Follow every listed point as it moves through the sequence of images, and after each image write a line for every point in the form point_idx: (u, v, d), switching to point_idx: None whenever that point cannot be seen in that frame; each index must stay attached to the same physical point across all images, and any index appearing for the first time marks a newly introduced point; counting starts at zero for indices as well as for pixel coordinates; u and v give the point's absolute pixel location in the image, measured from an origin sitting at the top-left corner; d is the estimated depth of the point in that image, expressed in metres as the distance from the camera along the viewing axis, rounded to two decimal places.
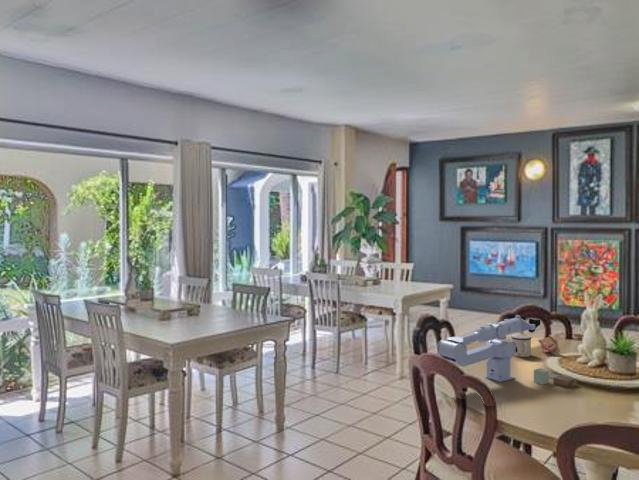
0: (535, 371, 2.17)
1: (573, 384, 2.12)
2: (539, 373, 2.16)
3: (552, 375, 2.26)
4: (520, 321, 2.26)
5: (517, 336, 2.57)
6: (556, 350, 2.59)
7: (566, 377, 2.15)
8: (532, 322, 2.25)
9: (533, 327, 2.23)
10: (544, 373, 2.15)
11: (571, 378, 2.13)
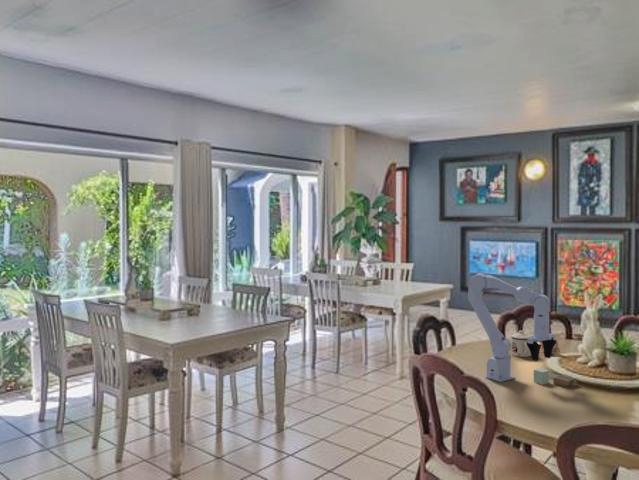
0: (535, 371, 2.17)
1: (573, 384, 2.12)
2: (539, 373, 2.16)
3: (552, 375, 2.26)
4: (542, 335, 2.14)
5: (517, 336, 2.57)
6: (556, 350, 2.58)
7: (566, 377, 2.15)
8: (535, 344, 2.13)
9: (529, 340, 2.13)
10: (544, 373, 2.15)
11: (571, 378, 2.13)
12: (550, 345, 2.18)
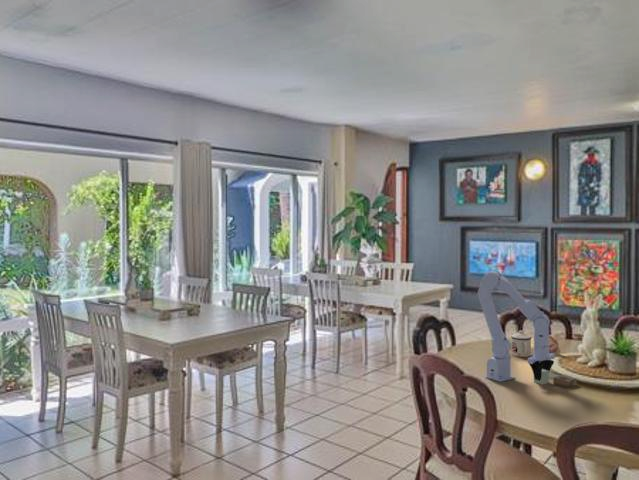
0: None
1: (573, 384, 2.12)
2: None
3: (552, 375, 2.26)
4: (542, 355, 2.14)
5: (517, 336, 2.57)
6: (556, 350, 2.58)
7: (566, 377, 2.15)
8: (537, 364, 2.14)
9: (529, 360, 2.13)
10: (544, 373, 2.15)
11: (571, 378, 2.13)
12: (547, 366, 2.17)
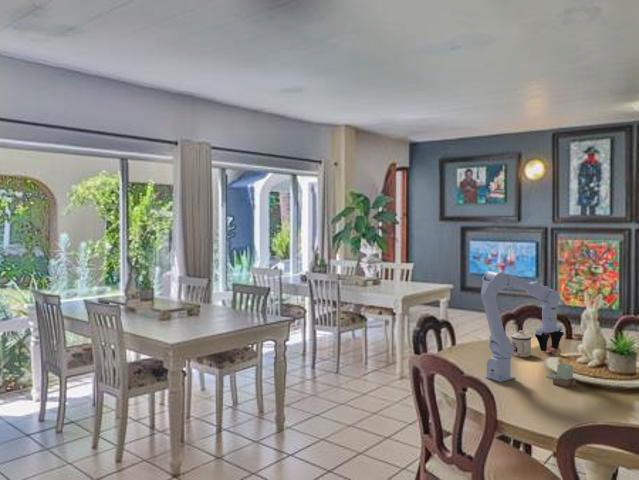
0: (559, 366, 2.14)
1: (572, 383, 2.12)
2: (563, 368, 2.12)
3: (552, 375, 2.26)
4: (550, 327, 2.24)
5: (517, 336, 2.57)
6: (557, 350, 2.58)
7: None
8: (543, 335, 2.23)
9: (538, 331, 2.24)
10: (568, 368, 2.12)
11: None
12: (557, 337, 2.28)
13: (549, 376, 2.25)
